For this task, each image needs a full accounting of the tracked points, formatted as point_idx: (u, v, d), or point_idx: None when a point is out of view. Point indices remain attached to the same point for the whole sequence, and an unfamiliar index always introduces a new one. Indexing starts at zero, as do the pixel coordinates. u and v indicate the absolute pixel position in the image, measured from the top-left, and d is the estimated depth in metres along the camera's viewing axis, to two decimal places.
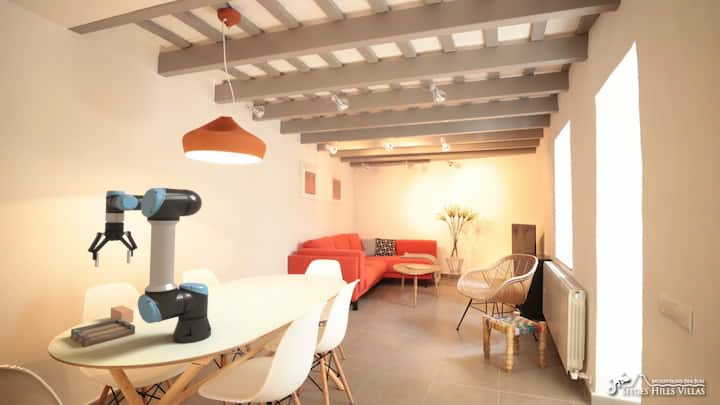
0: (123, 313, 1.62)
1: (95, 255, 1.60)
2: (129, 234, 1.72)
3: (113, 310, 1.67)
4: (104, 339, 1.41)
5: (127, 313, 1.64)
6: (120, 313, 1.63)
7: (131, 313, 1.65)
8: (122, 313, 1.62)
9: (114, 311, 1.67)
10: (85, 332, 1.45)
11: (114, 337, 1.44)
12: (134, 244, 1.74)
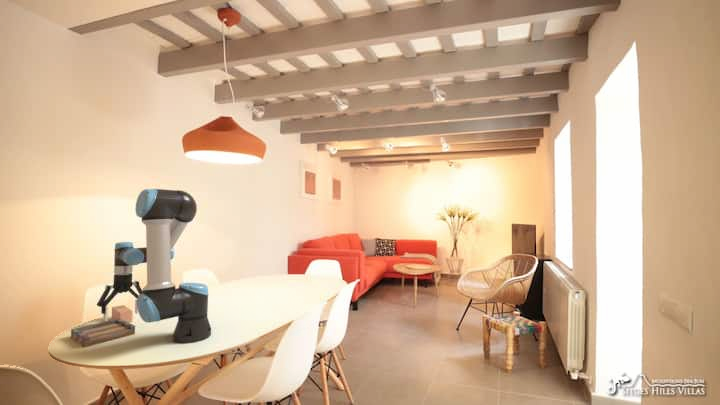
0: (122, 313, 1.62)
1: (104, 309, 1.61)
2: (137, 284, 1.72)
3: (113, 310, 1.68)
4: (104, 339, 1.41)
5: (126, 313, 1.63)
6: (119, 313, 1.62)
7: (130, 313, 1.65)
8: (121, 313, 1.62)
9: (114, 310, 1.67)
10: (85, 332, 1.45)
11: (114, 337, 1.44)
12: (142, 294, 1.74)
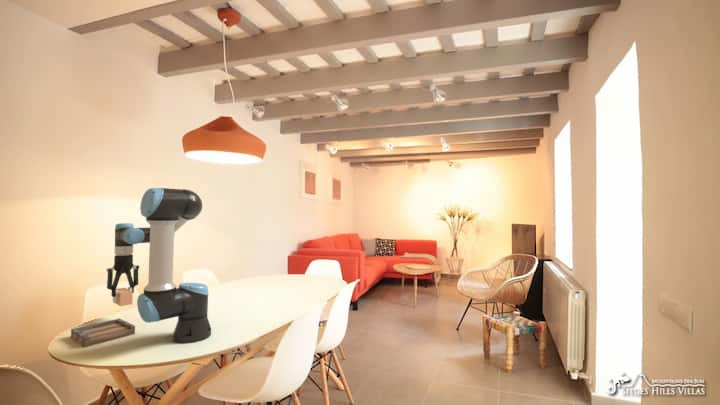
0: (122, 294, 1.62)
1: (114, 292, 1.64)
2: (137, 268, 1.72)
3: None
4: (104, 339, 1.41)
5: (126, 294, 1.63)
6: (119, 294, 1.62)
7: (130, 295, 1.65)
8: (121, 294, 1.62)
9: None
10: (85, 332, 1.45)
11: (114, 337, 1.44)
12: (136, 280, 1.72)
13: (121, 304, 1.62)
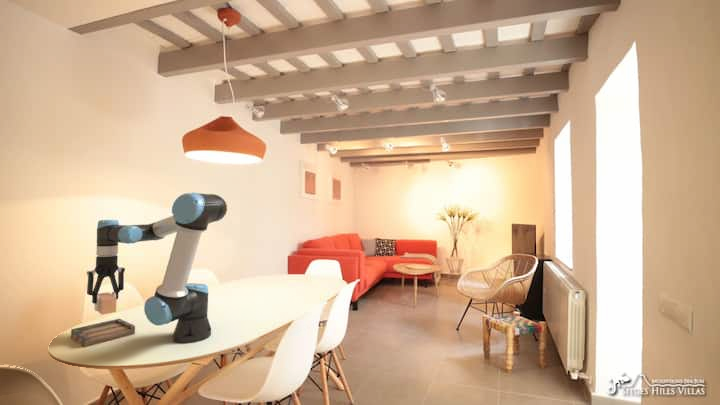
0: (104, 301, 1.42)
1: (95, 298, 1.44)
2: (122, 271, 1.52)
3: None
4: (104, 339, 1.41)
5: (109, 301, 1.43)
6: (101, 301, 1.42)
7: (114, 301, 1.45)
8: (103, 301, 1.42)
9: None
10: (85, 332, 1.45)
11: (114, 337, 1.44)
12: (122, 284, 1.52)
13: (103, 312, 1.42)
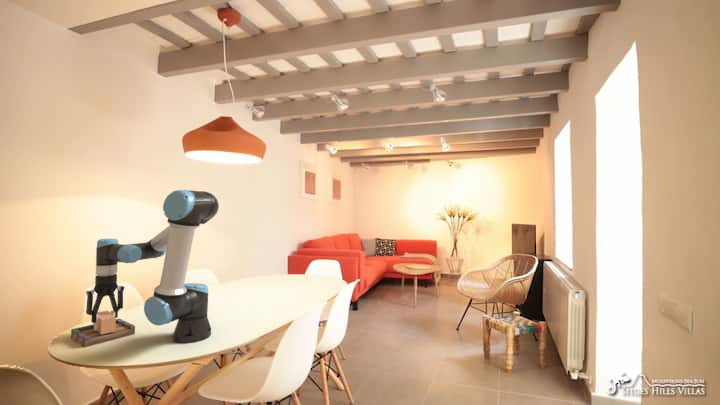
0: (103, 321, 1.42)
1: (94, 317, 1.44)
2: (121, 290, 1.52)
3: None
4: (104, 339, 1.41)
5: (108, 321, 1.43)
6: (100, 320, 1.42)
7: (113, 321, 1.44)
8: (102, 321, 1.42)
9: None
10: (85, 332, 1.45)
11: (114, 337, 1.44)
12: (121, 303, 1.51)
13: (102, 332, 1.42)
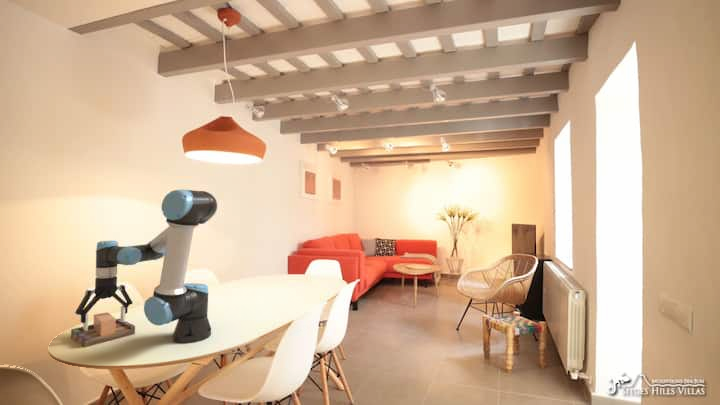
0: (103, 322, 1.42)
1: (84, 317, 1.41)
2: (123, 289, 1.52)
3: (95, 318, 1.48)
4: (104, 339, 1.41)
5: (108, 322, 1.43)
6: (100, 322, 1.42)
7: (113, 322, 1.44)
8: (102, 322, 1.42)
9: (96, 318, 1.47)
10: (85, 332, 1.45)
11: (114, 337, 1.44)
12: (129, 299, 1.54)
13: (102, 333, 1.42)
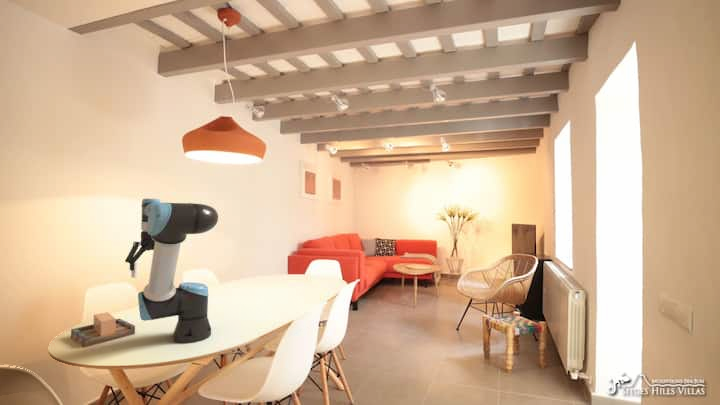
0: (103, 322, 1.42)
1: (133, 265, 1.55)
2: None
3: (95, 318, 1.48)
4: (104, 339, 1.41)
5: (108, 322, 1.43)
6: (100, 322, 1.42)
7: (113, 322, 1.44)
8: (102, 322, 1.42)
9: (96, 318, 1.47)
10: (85, 332, 1.45)
11: (114, 337, 1.44)
12: None
13: (102, 333, 1.42)
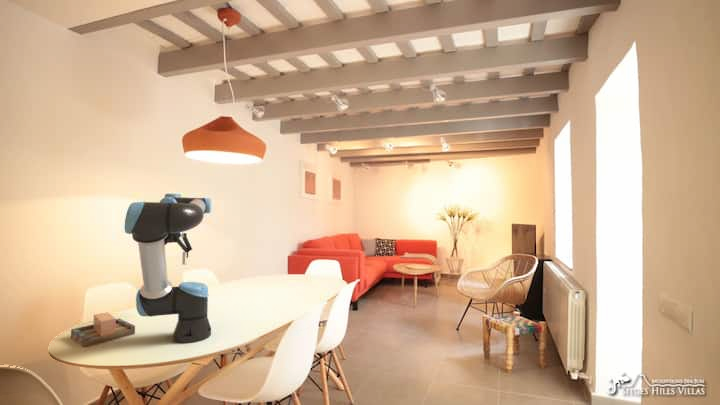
0: (103, 322, 1.42)
1: None
2: (185, 236, 1.76)
3: (95, 318, 1.48)
4: (104, 339, 1.41)
5: (108, 322, 1.43)
6: (100, 322, 1.42)
7: (113, 322, 1.44)
8: (102, 322, 1.42)
9: (96, 318, 1.47)
10: (85, 332, 1.45)
11: (114, 337, 1.44)
12: (189, 246, 1.78)
13: (102, 333, 1.42)
